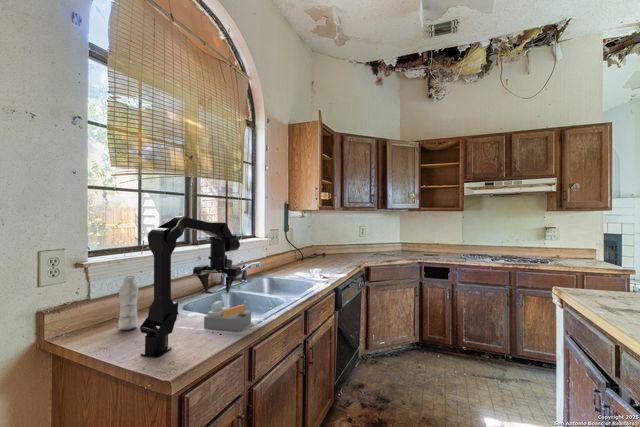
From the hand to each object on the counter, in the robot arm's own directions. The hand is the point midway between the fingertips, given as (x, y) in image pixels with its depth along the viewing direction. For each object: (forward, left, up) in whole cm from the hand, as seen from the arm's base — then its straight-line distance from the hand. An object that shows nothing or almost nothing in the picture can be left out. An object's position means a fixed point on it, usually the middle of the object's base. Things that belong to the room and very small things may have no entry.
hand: (217, 291), depth 119 cm
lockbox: (0, -5, -13) cm, 14 cm away
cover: (0, -1, -8) cm, 9 cm away
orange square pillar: (-3, -9, -8) cm, 13 cm away
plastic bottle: (-12, +30, -13) cm, 35 cm away
